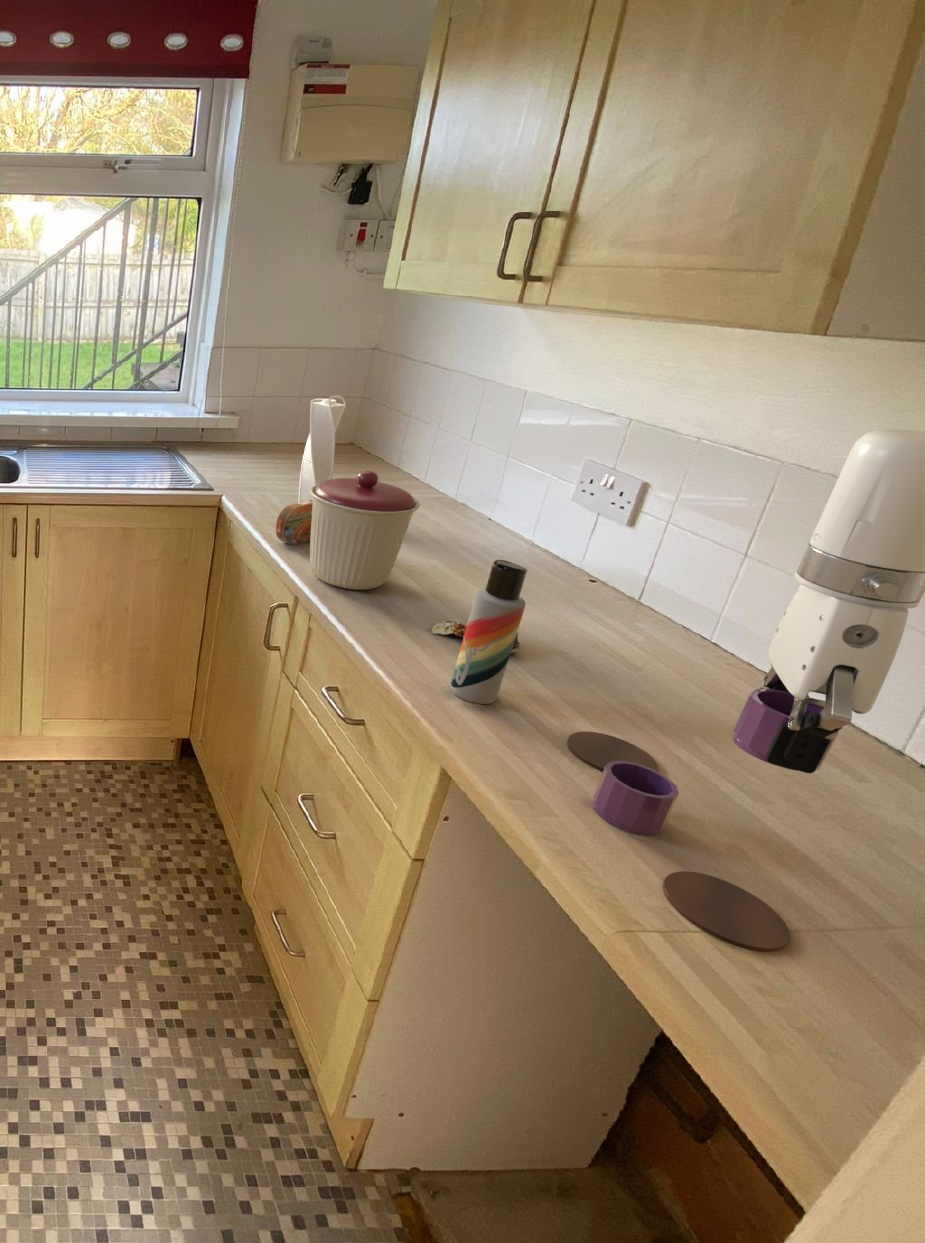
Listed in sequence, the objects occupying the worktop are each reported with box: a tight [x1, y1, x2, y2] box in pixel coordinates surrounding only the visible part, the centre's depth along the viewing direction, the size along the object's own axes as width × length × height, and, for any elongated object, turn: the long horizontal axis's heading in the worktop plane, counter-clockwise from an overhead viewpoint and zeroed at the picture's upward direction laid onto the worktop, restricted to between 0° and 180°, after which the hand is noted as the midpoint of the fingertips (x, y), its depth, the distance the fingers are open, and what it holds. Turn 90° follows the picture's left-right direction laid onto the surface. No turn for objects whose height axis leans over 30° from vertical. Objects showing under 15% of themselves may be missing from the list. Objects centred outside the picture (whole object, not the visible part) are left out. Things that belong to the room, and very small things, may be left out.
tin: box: [275, 500, 313, 546], centre depth 161 cm, size 15×3×8 cm, turn 120°
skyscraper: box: [297, 394, 347, 503], centre depth 174 cm, size 8×8×28 cm
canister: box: [309, 470, 421, 591], centre depth 139 cm, size 18×18×21 cm
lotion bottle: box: [450, 559, 528, 705], centre depth 103 cm, size 6×6×20 cm
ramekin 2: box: [731, 687, 842, 772], centre depth 72 cm, size 6×6×5 cm
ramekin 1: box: [591, 761, 680, 836], centre depth 83 cm, size 6×6×5 cm
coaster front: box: [662, 870, 791, 952], centre depth 72 cm, size 9×9×1 cm
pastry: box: [431, 619, 521, 653], centre depth 121 cm, size 7×12×4 cm, turn 53°
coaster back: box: [566, 730, 659, 772], centre depth 94 cm, size 9×9×1 cm
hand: (778, 745), depth 72 cm, fingers closed on ramekin 2, 6 cm apart
